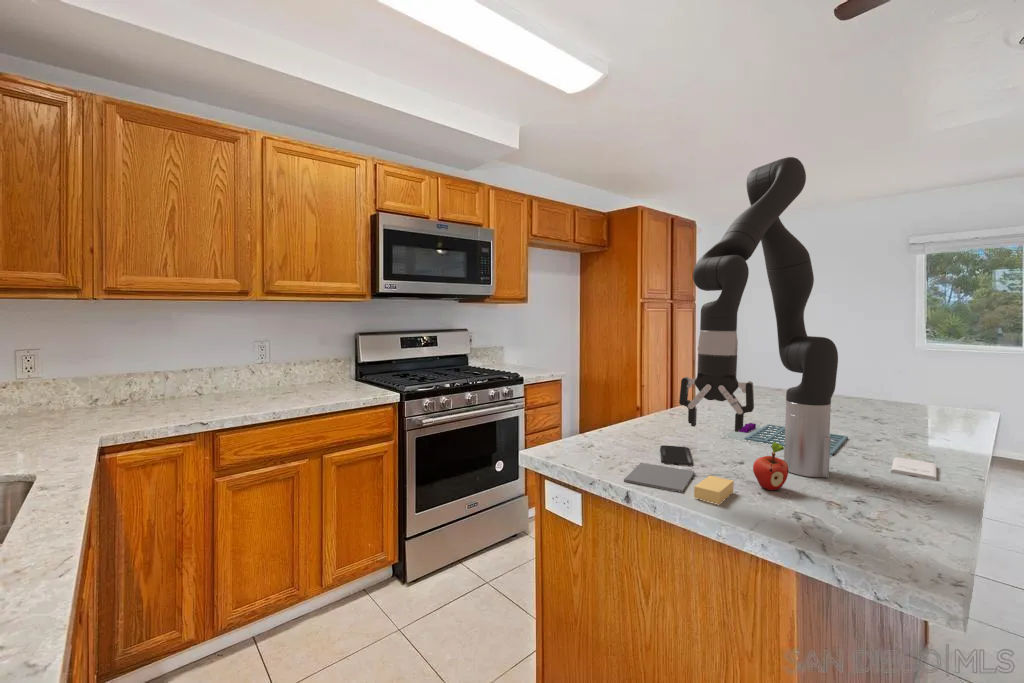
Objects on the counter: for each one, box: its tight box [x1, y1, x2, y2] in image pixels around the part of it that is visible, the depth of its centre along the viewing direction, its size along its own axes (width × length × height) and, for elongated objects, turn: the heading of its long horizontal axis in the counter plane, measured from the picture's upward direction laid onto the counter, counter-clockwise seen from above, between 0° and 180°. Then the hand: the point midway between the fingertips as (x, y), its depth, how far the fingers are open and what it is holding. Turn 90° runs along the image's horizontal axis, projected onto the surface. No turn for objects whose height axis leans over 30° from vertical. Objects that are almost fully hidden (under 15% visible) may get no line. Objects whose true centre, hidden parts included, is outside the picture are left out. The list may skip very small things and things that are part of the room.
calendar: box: [723, 422, 849, 459], centre depth 144 cm, size 27×29×2 cm
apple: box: [752, 442, 789, 491], centre depth 103 cm, size 8×7×10 cm
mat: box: [623, 462, 696, 493], centre depth 109 cm, size 13×14×1 cm
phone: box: [659, 444, 693, 466], centre depth 126 cm, size 8×1×15 cm
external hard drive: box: [890, 456, 937, 482], centre depth 115 cm, size 2×8×12 cm
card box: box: [693, 475, 735, 505], centre depth 99 cm, size 5×9×3 cm, turn 137°
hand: (714, 428), depth 98 cm, fingers open, 8 cm apart
